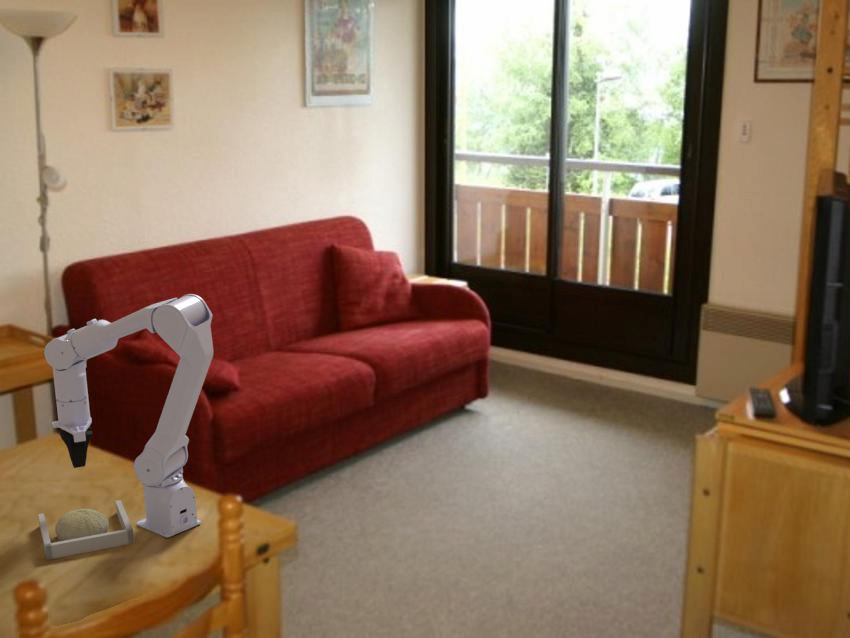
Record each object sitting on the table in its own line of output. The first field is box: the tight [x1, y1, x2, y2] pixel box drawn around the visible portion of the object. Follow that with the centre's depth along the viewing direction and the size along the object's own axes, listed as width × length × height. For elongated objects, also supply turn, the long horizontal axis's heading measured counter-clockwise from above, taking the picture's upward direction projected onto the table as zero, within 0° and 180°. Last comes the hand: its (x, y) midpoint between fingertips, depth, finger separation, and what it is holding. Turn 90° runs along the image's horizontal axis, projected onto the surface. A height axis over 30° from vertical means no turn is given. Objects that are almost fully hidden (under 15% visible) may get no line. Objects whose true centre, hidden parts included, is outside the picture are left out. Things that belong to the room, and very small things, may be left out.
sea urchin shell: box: [54, 508, 110, 542], centre depth 192 cm, size 9×8×8 cm
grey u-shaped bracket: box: [37, 499, 135, 561], centre depth 193 cm, size 15×15×2 cm
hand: (79, 466), depth 200 cm, fingers closed
